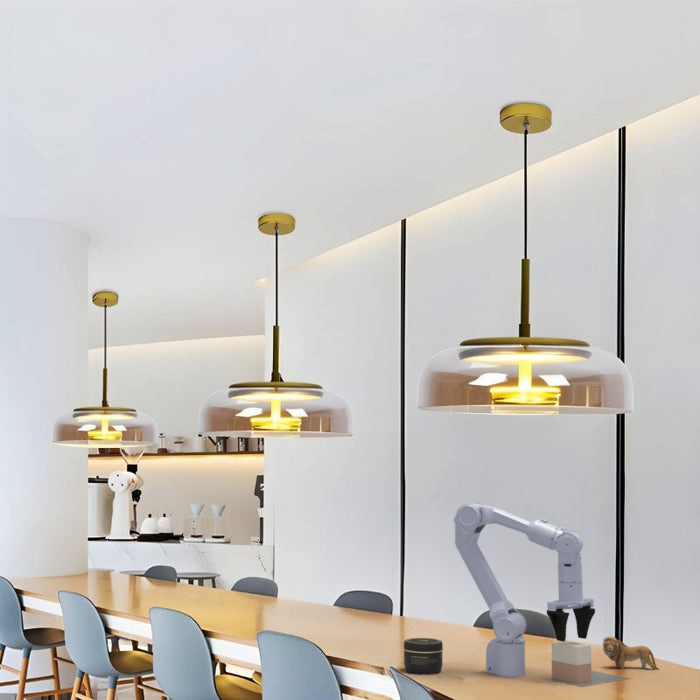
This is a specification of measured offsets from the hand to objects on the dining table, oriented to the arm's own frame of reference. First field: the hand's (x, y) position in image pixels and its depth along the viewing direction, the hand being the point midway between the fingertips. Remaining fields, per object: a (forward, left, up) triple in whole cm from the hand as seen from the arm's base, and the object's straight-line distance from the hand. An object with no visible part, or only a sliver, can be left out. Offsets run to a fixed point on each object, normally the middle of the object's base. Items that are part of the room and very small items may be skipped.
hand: (571, 639), depth 241 cm
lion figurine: (-2, +24, -11) cm, 26 cm away
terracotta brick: (0, 0, -9) cm, 9 cm away
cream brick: (0, 0, -5) cm, 5 cm away
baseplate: (+1, +4, -10) cm, 11 cm away
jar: (-32, -20, -11) cm, 39 cm away
